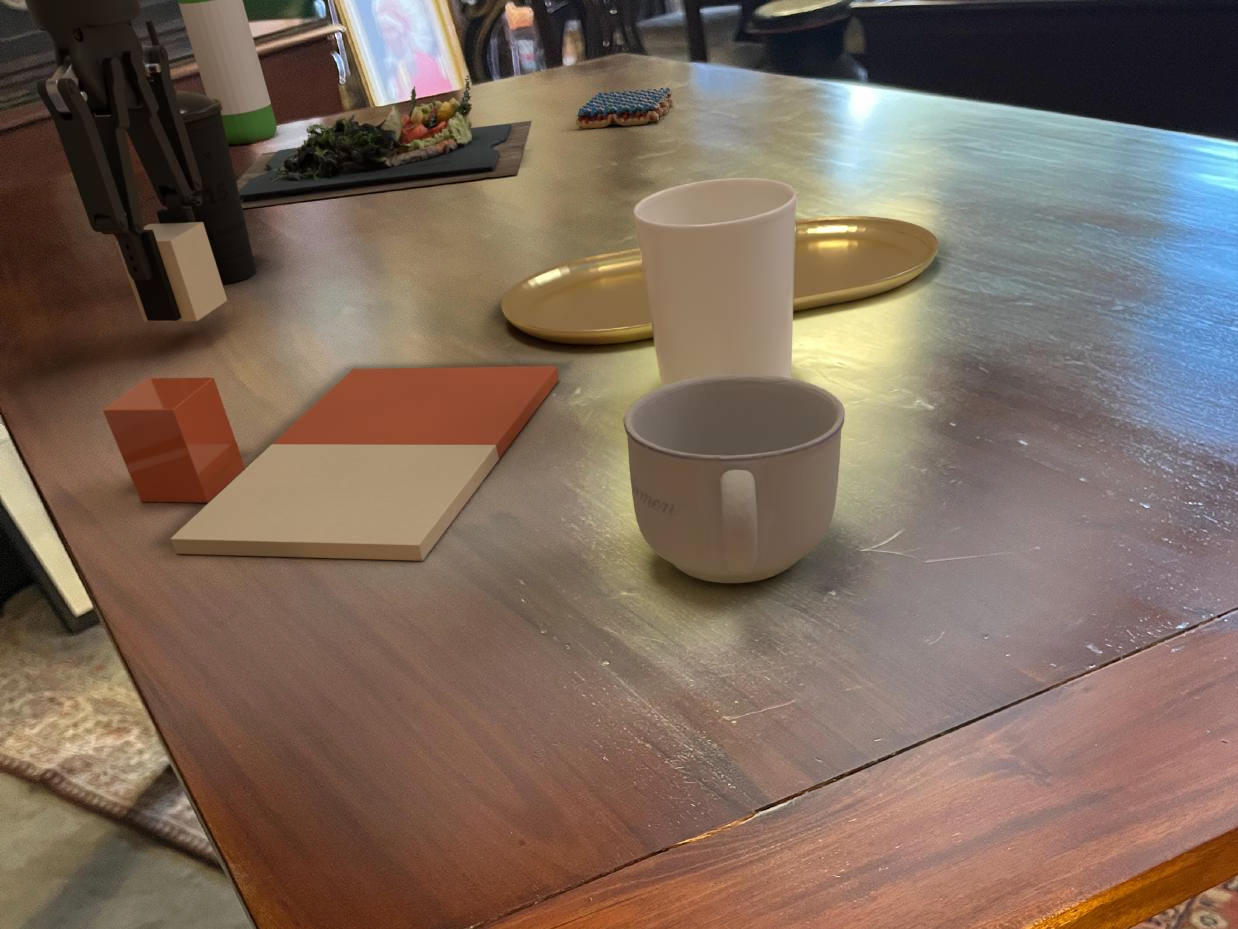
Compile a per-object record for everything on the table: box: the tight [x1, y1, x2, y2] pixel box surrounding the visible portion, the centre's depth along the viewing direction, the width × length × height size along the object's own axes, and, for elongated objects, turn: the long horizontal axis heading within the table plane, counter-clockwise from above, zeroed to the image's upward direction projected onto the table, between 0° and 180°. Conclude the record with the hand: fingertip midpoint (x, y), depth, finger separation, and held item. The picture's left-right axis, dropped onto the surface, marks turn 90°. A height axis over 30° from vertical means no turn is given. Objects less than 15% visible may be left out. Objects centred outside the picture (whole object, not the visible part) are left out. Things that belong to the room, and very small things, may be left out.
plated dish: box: [236, 74, 532, 209], centre depth 140 cm, size 35×28×7 cm
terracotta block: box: [102, 377, 246, 504], centre depth 77 cm, size 5×5×6 cm
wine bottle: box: [177, 0, 277, 146], centre depth 151 cm, size 8×8×30 cm
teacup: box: [622, 374, 846, 584], centre depth 61 cm, size 14×11×8 cm
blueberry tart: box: [574, 87, 674, 129], centre depth 146 cm, size 10×11×2 cm
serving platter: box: [500, 215, 939, 346], centre depth 96 cm, size 19×35×2 cm, turn 103°
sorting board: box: [169, 365, 560, 562], centre depth 78 cm, size 16×26×1 cm, turn 166°
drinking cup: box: [144, 19, 257, 285], centre depth 107 cm, size 8×8×20 cm
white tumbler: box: [632, 177, 798, 387], centre depth 76 cm, size 10×10×12 cm
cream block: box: [115, 222, 228, 323], centre depth 98 cm, size 5×5×6 cm
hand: (182, 306), depth 100 cm, fingers closed on cream block, 5 cm apart
